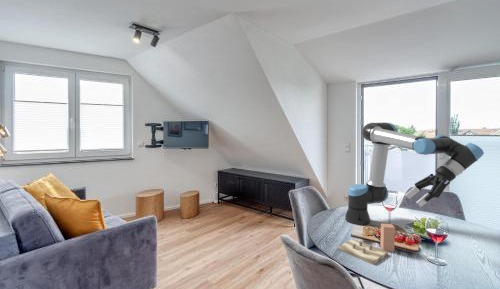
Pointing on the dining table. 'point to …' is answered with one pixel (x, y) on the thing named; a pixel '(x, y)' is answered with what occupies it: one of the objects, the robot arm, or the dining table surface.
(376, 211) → the dining table surface
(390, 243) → the block
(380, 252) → the base plate
